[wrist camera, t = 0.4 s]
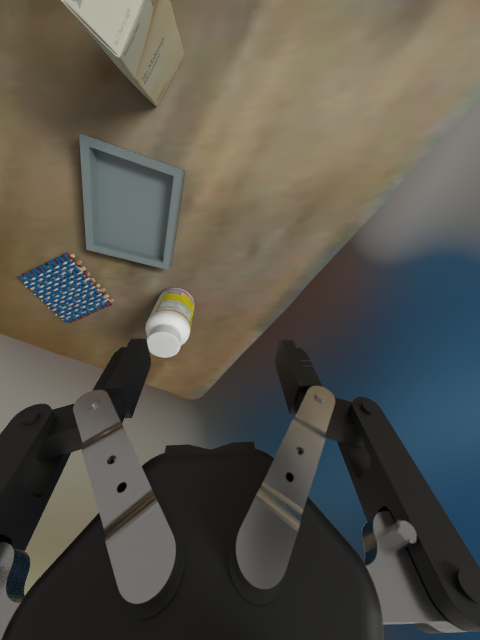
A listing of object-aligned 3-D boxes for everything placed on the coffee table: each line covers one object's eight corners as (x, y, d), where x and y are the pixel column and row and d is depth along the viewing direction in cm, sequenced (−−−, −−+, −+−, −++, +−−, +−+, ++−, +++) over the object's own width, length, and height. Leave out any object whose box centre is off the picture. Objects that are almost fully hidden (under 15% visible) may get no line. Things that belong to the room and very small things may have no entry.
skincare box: (157, 108, 27) (119, 66, 17) (122, 73, 25) (55, 0, 15) (186, 52, 24) (163, -38, 14) (150, 8, 23) (94, -131, 12)
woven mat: (72, 321, 42) (66, 327, 40) (22, 273, 36) (13, 278, 35) (117, 301, 41) (113, 306, 39) (73, 248, 35) (65, 251, 33)
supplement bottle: (177, 322, 44) (163, 369, 33) (151, 300, 41) (127, 343, 30) (202, 304, 42) (196, 347, 31) (177, 279, 39) (161, 317, 28)
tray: (89, 136, 28) (79, 133, 25) (185, 170, 30) (182, 169, 28) (94, 245, 35) (86, 249, 32) (171, 265, 37) (168, 270, 35)
